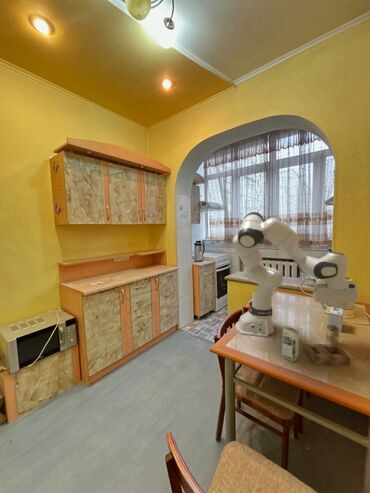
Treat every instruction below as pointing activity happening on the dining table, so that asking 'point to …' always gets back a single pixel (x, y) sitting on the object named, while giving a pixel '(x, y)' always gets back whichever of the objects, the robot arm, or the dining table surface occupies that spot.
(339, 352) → the socket block
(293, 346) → the syrup box
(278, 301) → the dining table surface
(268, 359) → the dining table surface
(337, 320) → the light bulb box
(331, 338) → the oak peg
